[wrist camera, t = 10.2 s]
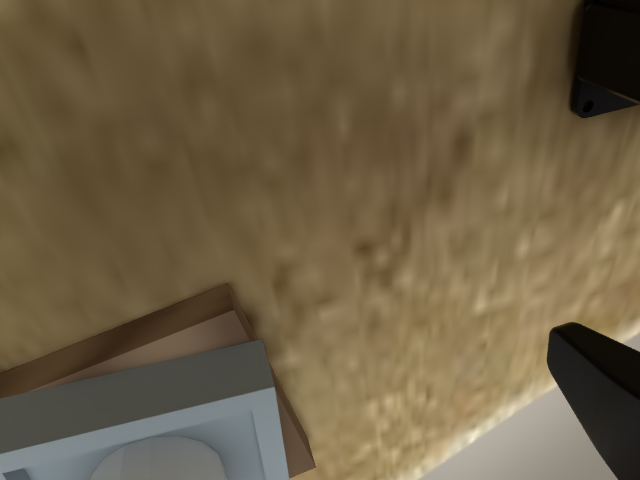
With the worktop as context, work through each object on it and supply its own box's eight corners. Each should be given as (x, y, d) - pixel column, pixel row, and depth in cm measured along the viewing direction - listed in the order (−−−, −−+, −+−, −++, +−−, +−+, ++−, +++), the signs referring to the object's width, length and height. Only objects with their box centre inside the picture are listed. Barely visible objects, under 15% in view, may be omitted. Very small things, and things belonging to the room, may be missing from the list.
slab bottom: (227, 274, 23) (233, 309, 21) (304, 429, 30) (315, 467, 28) (-39, 378, 22) (-59, 426, 20) (103, 512, 29) (100, 558, 27)
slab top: (262, 339, 22) (274, 386, 20) (287, 488, 28) (298, 538, 26) (-20, 403, 20) (-42, 464, 18) (71, 549, 26) (64, 608, 24)
